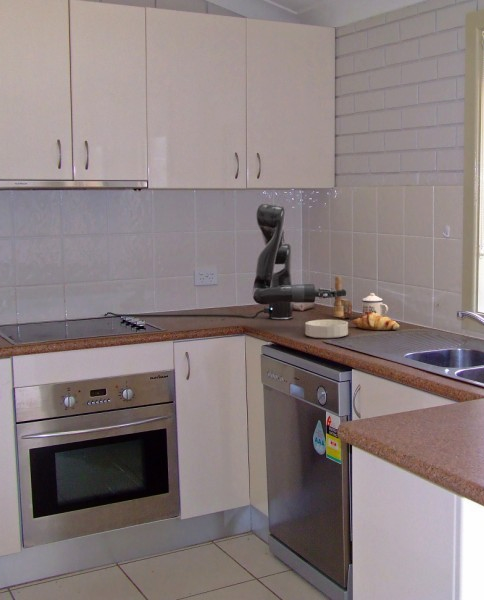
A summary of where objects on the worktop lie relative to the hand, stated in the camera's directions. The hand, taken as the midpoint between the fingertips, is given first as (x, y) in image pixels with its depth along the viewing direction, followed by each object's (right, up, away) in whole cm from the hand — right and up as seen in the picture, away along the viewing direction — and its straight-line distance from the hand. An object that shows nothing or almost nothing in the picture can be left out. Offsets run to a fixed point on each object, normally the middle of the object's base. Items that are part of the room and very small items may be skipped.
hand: (345, 292), depth 340 cm
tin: (-2, -11, +34) cm, 36 cm away
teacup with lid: (+12, -12, +27) cm, 32 cm away
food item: (-22, -8, +61) cm, 65 cm away
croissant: (+12, -15, +2) cm, 20 cm away
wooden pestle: (-3, -9, +1) cm, 10 cm away
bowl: (-7, -17, -13) cm, 22 cm away
